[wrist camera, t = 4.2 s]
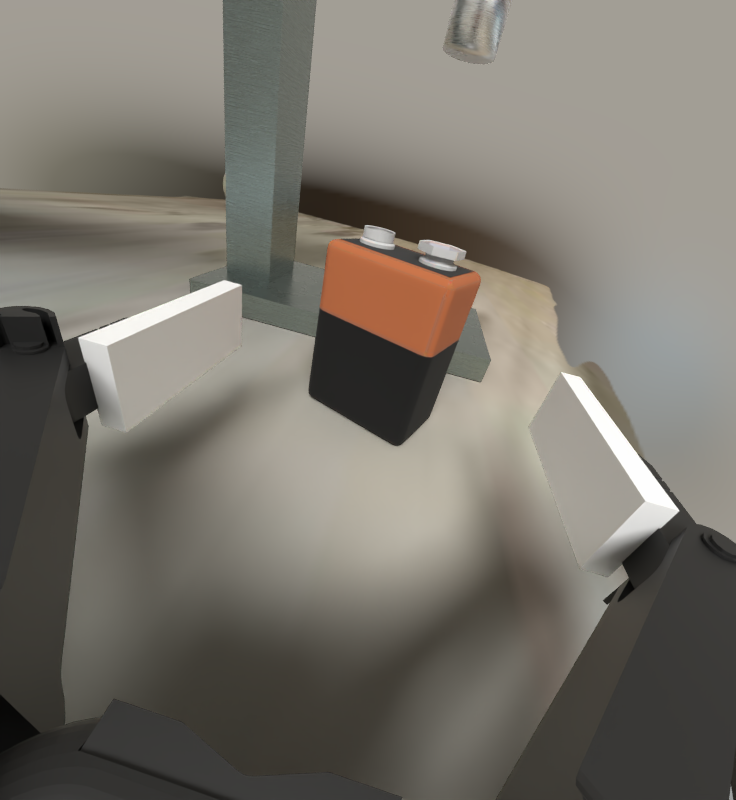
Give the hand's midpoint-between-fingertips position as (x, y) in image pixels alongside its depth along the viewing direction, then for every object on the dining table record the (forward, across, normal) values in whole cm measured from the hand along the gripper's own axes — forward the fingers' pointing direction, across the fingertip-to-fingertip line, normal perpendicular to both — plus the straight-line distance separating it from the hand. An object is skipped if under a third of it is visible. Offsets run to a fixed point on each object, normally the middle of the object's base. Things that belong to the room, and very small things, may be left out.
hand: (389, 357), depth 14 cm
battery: (+5, -1, -6) cm, 8 cm away
